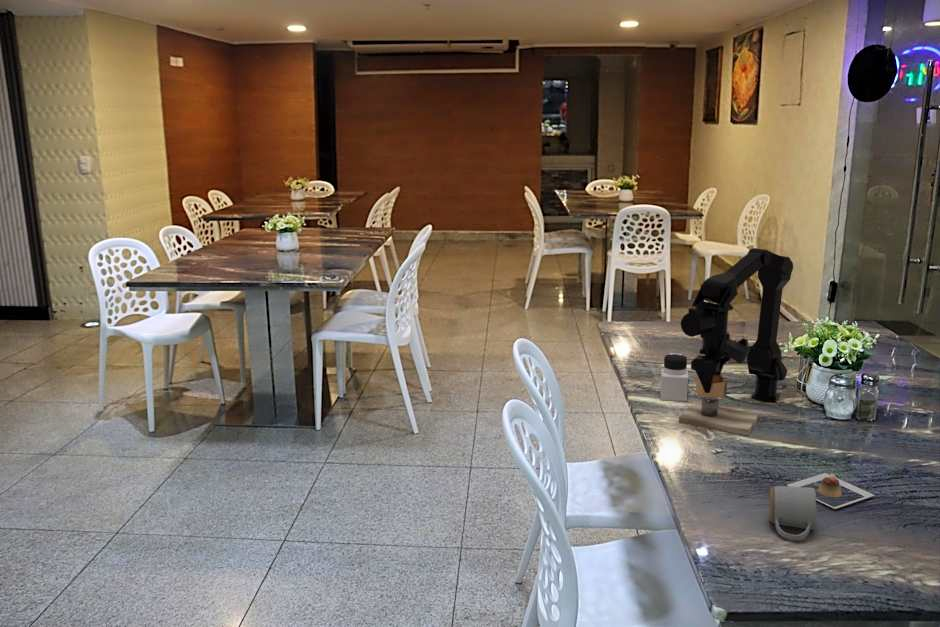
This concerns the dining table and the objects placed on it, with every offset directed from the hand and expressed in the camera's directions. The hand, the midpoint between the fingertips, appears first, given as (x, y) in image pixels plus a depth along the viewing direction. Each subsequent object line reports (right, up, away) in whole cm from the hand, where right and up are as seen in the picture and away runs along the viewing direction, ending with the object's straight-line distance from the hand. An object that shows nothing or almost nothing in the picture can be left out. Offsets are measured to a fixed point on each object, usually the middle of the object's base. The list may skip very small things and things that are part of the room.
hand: (711, 388), depth 201 cm
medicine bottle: (-5, -4, +19) cm, 20 cm away
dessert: (+13, -19, -37) cm, 44 cm away
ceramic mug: (0, -22, -51) cm, 55 cm away
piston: (0, -7, +2) cm, 7 cm away
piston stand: (+2, -8, +1) cm, 9 cm away
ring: (0, -1, 0) cm, 1 cm away
